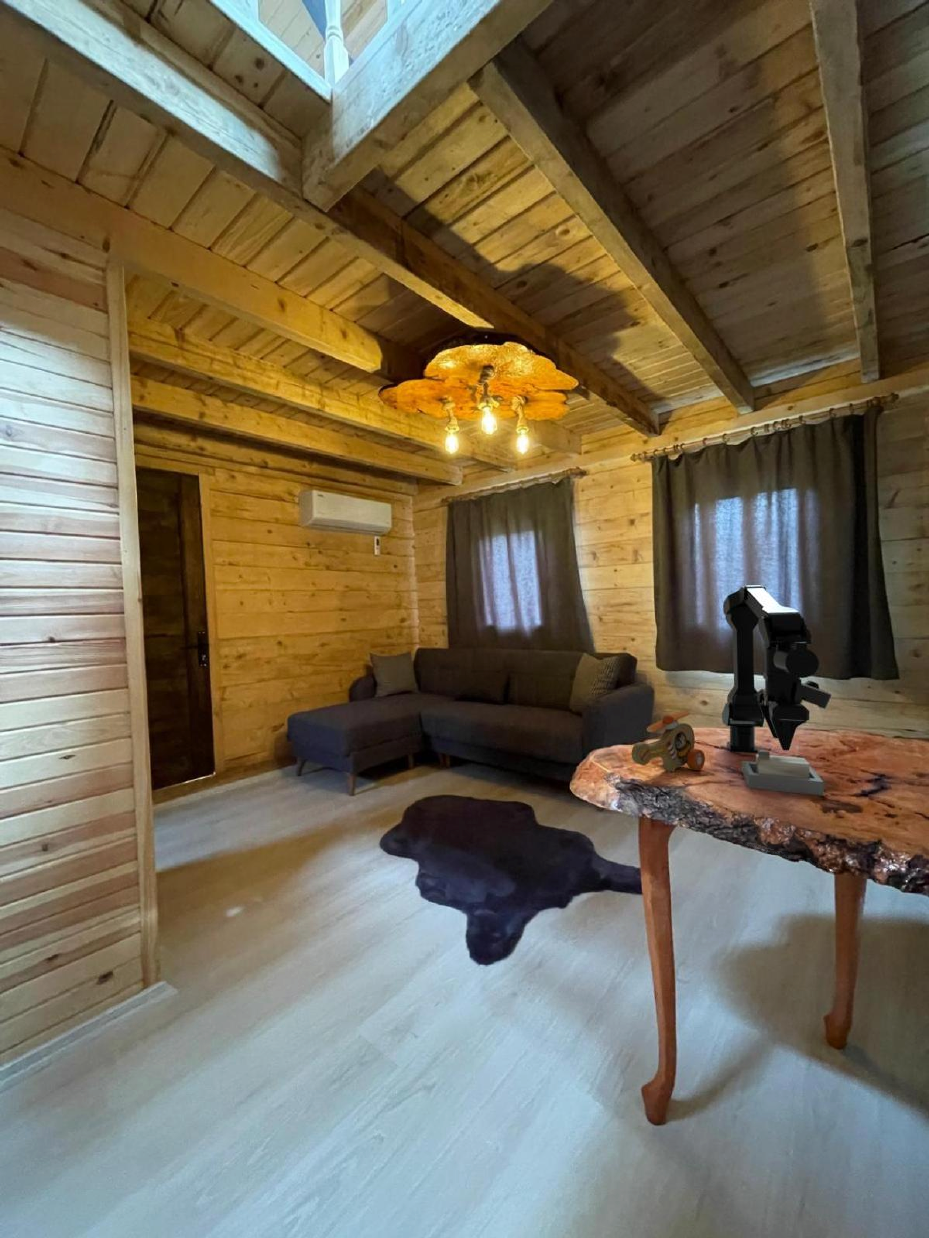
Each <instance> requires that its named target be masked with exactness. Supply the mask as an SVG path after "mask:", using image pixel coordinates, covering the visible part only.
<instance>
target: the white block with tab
mask: <svg viewBox="0 0 929 1238" xmlns="http://www.w3.org/2000/svg"><path fill="white" fill-rule="evenodd" d="M770 753H771V752H770V751H769V750H759V749H758V752H757V753H756V754H755V762H756V773H759V774H770V775H781V776H791V777H802V778H809V767H810V763H809V762H808V761H807V760H806V759H805V757H793V756H781V755H770Z"/></svg>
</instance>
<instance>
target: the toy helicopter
mask: <svg viewBox="0 0 929 1238" xmlns="http://www.w3.org/2000/svg"><path fill="white" fill-rule="evenodd" d="M690 714H691V711H690V710H689V709H682V710H679V711H677V712H674V713H673V714H666V715H664V716H663V717H662V719H661V720H659V721H657V722H655V723H653V724H651V725H649V726H648V727H646V731H647V733H656V732H658V731H659V730H662V729H664V731H663V733H662V735H661V736H660V739H658V740H655V741H653V742H650V743H645V742H640V741H639V742H637V743H635V744H634V745H633V747H632V748H631V753H630V755H631V760H632V761H633V763H635V764H637V765H641V766H647V765H649V763H650V761H651V760H653V759H657V758H660V759H661V761H662V768H663V769H664V770H665V771H667V770H668V771H667V772H670V771H673V770H674V771H675V770H676V769H677V768H680V767H683V766H685V765H687V767H688V768H689V769H690V770H694V771H696V770H699V771H701V770H702V769H703V767H704V766H705V761H706V757H705V752H704V751H703V750H702V749H698V748H695V745H696V744H695V742H696V737H695V731H694V729H693V727H692V726H691V725H690V724H688V723H686V722H679V721H678V720H680V719H682V718H684V717H687V716H688V715H689V716H690ZM674 771H673V772H674Z"/></svg>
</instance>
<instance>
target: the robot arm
mask: <svg viewBox="0 0 929 1238" xmlns="http://www.w3.org/2000/svg"><path fill="white" fill-rule="evenodd" d="M722 610H723V614H724V615H725V616H724V617H725V621H726V623H727V624H728V626H729V627H730V629H732V644H733V645H732V647H733V648H732V651H733V658H732V660H733V687H732V688H731V689H730V691H729V692H728V694H727V697H726V698H727V699H726V703H725V704H724V706H723V710H722V713H721V720H722V723H723V724H724V725H725V726H726V727H729V741H726V744H727V746H728V750H730V751H739V752H751V753H753V752H754V753H758V750H759V749H758V747H757V746H756V743H755V742H756V741H755V740H756V739H755V737H756V736H755V735H756V734H755V733H756V732H755V731H756V727H757V728H763V727H764V724H765V722H766V724H767V726H768V728H769V730H770V733H771V735H772V738H774V739H778V743H779V744H780V747H781V750H783V751H785V752H786V751H790V748H791V745H792V742H793V739H794V736H795V733H796V730H797V728H799V727H800V726H801V725H803V724H806V723H807V721H810V710H809V709H808V708H807V707H806V706H805V705H803V704H802V703H803V701H804V702H807V703H810V704H812V705H815V706H817V707H819V708H821V709H824V710H826V709H827V707H828V704H829V703H830V702H829V701H830V700H831V698H832V694H831V693H829V692H828V691H825V690H823V689H820V685H819V683H818V682H815V681H812V680H807V681H806V682H805V683H803V682H802V679H805V678H806V679H807V678H809V677H811V676H813V675H814V674H815V673H816V672H818V669H819V666H820V660H819V659H818V656H817V655H816V653H815V652H814V651H812V650H810V649H809V648H808V645H812V640H811V639H812V633H811V632H810V630H809V628H808V626H807V622H805V618H804V617H803V616H802V615H801V613H800V611H798V610H796V609H794V608H792V607H787V606H782V605H780V603H778V602H777V601H776V600H775V599H774V598H773V597H772V596H771V595H770V593H768V591H767V589H766V586H764V585H761V584H758V585H757V584H756V585H752V584H751V585H743V586H741V587H739V589H738V590H737V591H734V592H732V593H730V594H729V595H727V596H726V598H725V599H724V601H723V603H722ZM756 627H758V632H759V633H760V636H761V637H762V640H763V642H764V643H763V646H764V655H765V656H764V673H763V674H762V675H763V676H762V677H763V679H764V681H765V682H764V688H761V689H760V690H757V689H756V687H755V657H754V655H755V654H754V652H755V650H754V647H755V646H754V630H755V629H756Z"/></svg>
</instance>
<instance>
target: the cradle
mask: <svg viewBox="0 0 929 1238" xmlns="http://www.w3.org/2000/svg"><path fill="white" fill-rule="evenodd" d="M742 775H743V777H744V780H745V782H746V785H747V787H748V788H749V789H753V790H754V789H755V790H763V791H764V790H765V791H773V792H774V791H775V792H782V793H794V794H804V795H813V796H824V781H823V779H822V778H821V777H820V776H819V775H818V773H816V771H815V769H814V768H812V766H809V778H802V777H791V776H781V775H770V774H759V773H756V761H750V760H749V761H747V760H742Z"/></svg>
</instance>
